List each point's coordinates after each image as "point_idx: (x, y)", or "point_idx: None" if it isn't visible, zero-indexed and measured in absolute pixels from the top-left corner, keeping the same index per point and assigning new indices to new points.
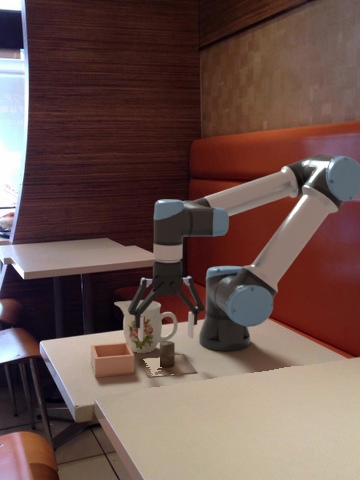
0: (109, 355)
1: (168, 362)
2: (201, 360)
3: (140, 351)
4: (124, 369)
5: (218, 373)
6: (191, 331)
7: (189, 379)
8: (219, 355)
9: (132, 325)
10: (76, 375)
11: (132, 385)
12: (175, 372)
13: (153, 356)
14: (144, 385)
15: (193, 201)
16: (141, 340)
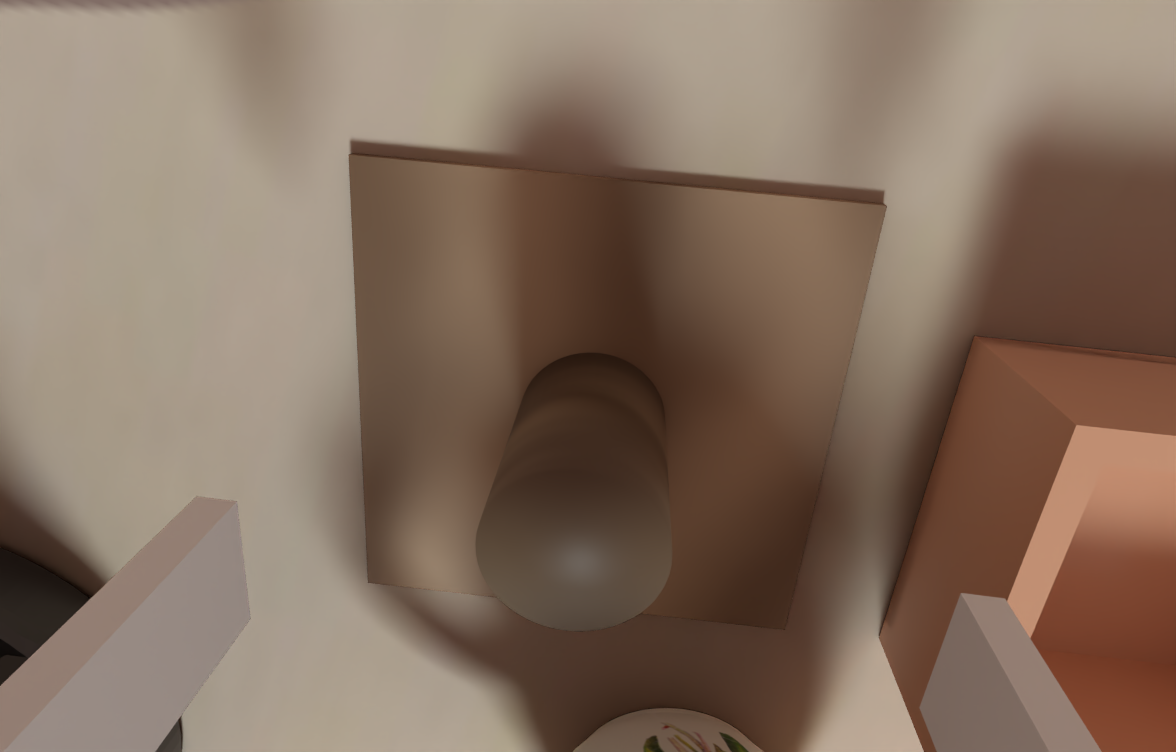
0: (1089, 689)
1: (599, 374)
2: (242, 428)
3: (724, 726)
4: (1108, 367)
5: (134, 65)
6: (165, 565)
7: (481, 6)
8: (57, 477)
9: None
10: None
11: (1142, 53)
12: (574, 217)
13: (635, 633)
14: (1019, 7)
15: None
16: (992, 603)
